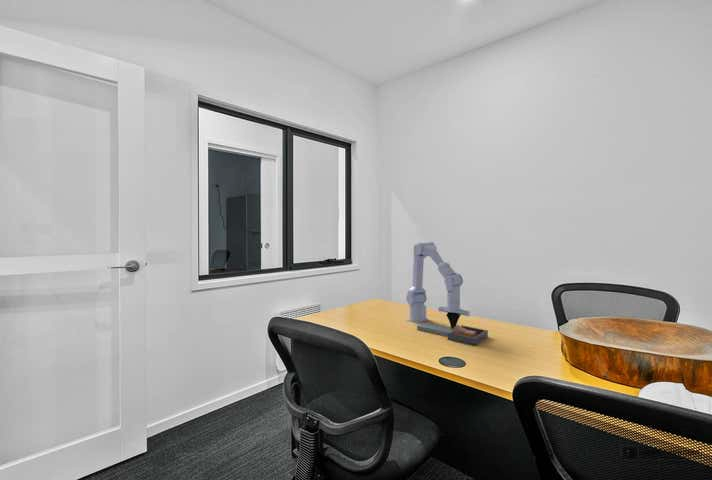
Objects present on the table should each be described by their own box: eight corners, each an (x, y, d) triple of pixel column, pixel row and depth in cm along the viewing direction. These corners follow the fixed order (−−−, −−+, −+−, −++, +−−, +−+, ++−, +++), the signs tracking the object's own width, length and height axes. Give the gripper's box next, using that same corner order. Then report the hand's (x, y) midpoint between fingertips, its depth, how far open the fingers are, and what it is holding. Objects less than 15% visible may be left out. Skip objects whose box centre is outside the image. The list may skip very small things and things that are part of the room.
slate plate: (425, 326, 169) (425, 322, 169) (458, 333, 157) (458, 329, 157) (417, 329, 163) (417, 325, 163) (451, 337, 151) (451, 333, 151)
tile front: (466, 335, 152) (466, 329, 152) (476, 337, 150) (476, 331, 149) (462, 337, 149) (462, 332, 149) (472, 339, 146) (472, 334, 146)
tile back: (456, 329, 156) (457, 324, 155) (465, 334, 153) (466, 329, 152) (452, 331, 152) (453, 327, 152) (461, 336, 150) (462, 331, 149)
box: (461, 331, 159) (461, 325, 159) (487, 336, 151) (487, 330, 151) (447, 339, 148) (447, 332, 148) (475, 345, 140) (475, 338, 140)
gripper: (435, 299, 155) (435, 327, 156) (465, 303, 146) (465, 333, 146) (442, 296, 161) (442, 324, 161) (471, 300, 151) (471, 330, 152)
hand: (453, 328), depth 154 cm, fingers closed
